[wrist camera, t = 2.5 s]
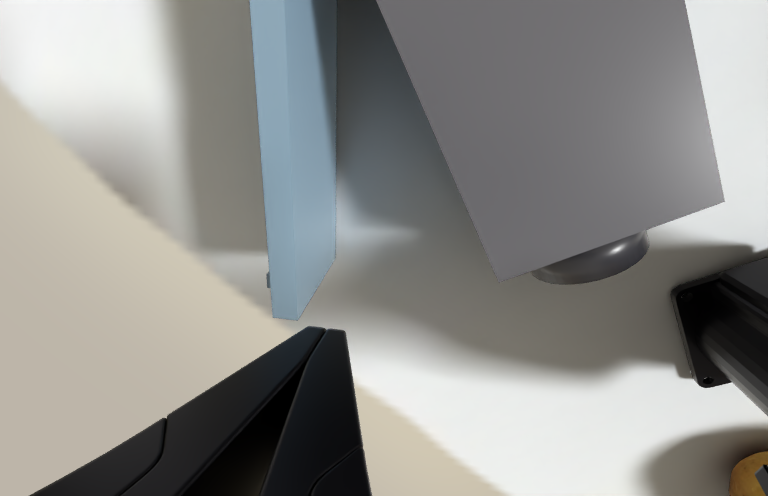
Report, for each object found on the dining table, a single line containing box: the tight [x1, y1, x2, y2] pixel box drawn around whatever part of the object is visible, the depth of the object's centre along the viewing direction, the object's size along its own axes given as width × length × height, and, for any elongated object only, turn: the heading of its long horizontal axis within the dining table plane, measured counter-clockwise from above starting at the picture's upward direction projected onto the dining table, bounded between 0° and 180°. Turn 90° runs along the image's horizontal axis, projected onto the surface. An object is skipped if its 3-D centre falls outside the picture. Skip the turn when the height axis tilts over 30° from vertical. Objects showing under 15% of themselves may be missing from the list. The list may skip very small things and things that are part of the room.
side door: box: [249, 0, 337, 321], centre depth 14 cm, size 15×2×6 cm, turn 177°
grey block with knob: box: [376, 0, 725, 284], centre depth 12 cm, size 17×7×7 cm, turn 27°
